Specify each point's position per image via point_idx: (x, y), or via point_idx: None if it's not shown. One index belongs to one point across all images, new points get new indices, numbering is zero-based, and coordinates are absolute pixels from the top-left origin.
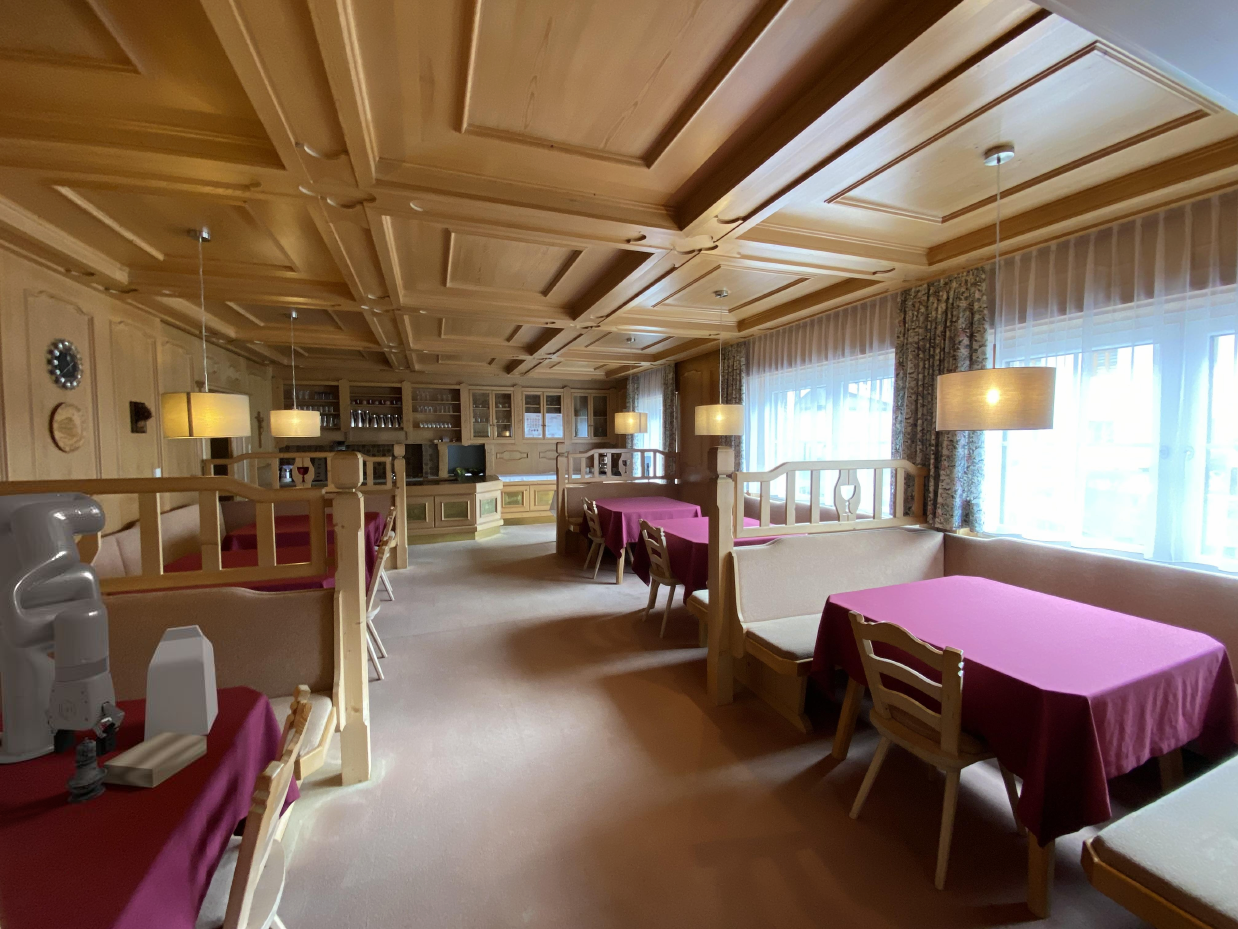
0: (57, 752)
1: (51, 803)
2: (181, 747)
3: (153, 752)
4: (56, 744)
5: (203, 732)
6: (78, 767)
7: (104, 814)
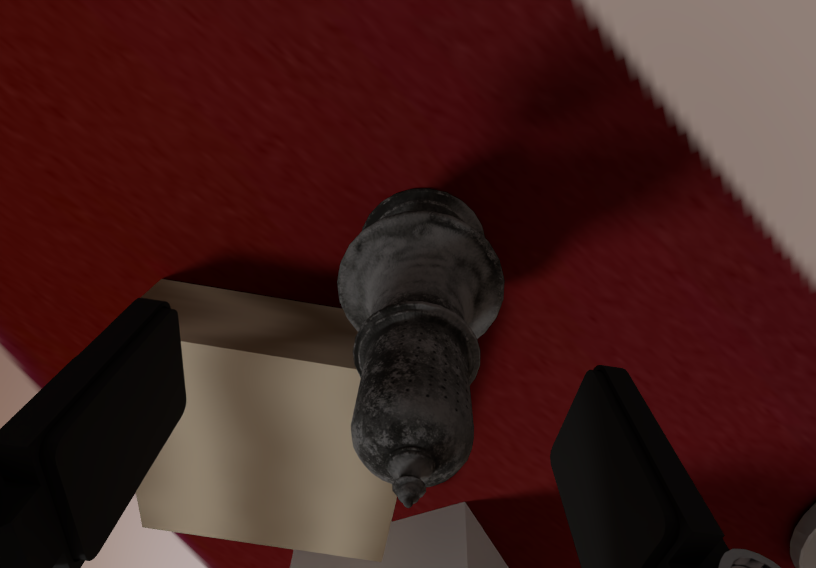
0: (599, 375)
1: (535, 192)
2: (161, 469)
3: (258, 445)
4: (635, 435)
5: (303, 555)
6: (419, 298)
7: (183, 101)
